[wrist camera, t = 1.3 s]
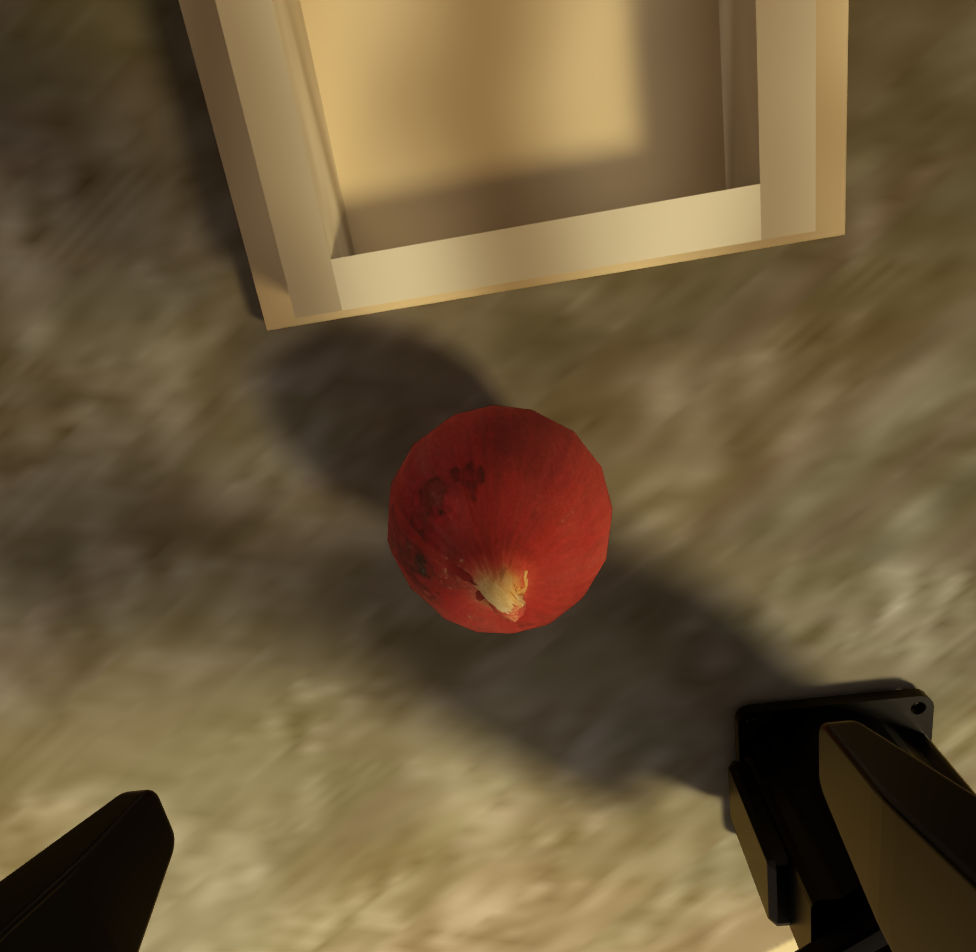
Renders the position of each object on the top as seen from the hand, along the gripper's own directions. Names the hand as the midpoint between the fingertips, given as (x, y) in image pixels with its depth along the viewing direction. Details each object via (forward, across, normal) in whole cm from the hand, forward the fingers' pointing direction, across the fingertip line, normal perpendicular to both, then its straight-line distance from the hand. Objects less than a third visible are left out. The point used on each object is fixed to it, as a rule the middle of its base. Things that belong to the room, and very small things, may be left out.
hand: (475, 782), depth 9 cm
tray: (+12, -2, -12) cm, 18 cm away
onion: (+13, 0, 0) cm, 13 cm away
